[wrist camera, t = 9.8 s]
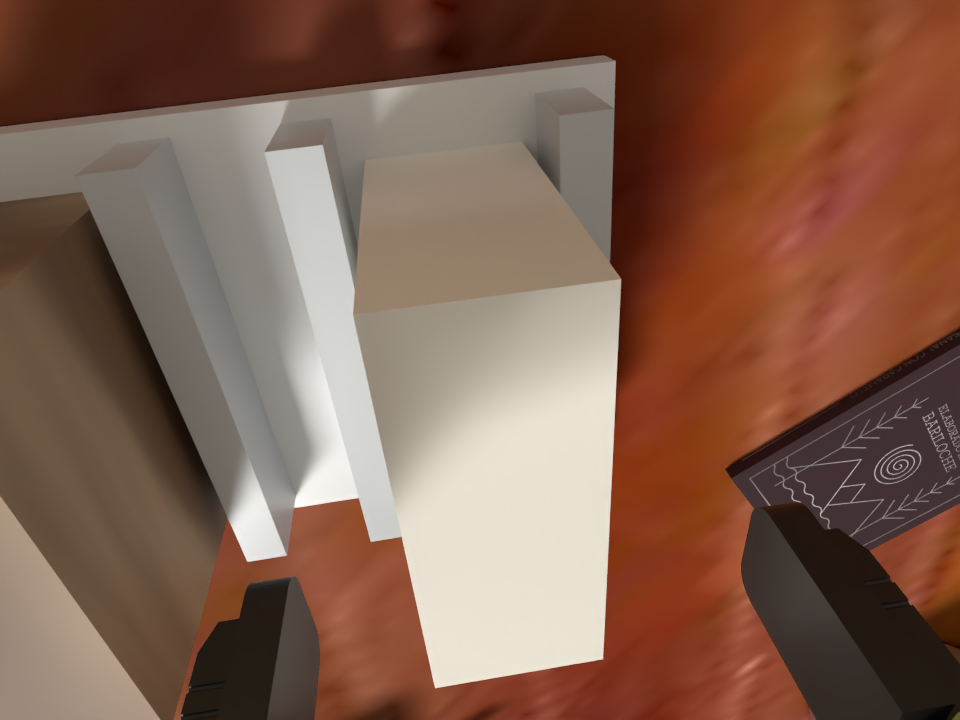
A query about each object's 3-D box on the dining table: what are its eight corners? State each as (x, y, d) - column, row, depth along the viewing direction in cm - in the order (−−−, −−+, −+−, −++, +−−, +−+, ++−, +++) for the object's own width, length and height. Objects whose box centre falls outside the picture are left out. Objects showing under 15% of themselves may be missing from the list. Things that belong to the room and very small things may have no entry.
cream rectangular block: (522, 141, 16) (621, 278, 9) (534, 440, 22) (602, 659, 15) (364, 160, 16) (353, 315, 9) (418, 457, 21) (434, 688, 15)
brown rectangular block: (112, 187, 15) (-90, 370, 9) (236, 483, 21) (169, 732, 14) (-58, 209, 15) (-399, 414, 9) (113, 502, 21) (-14, 765, 14)
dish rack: (603, 55, 16) (652, 78, 13) (596, 440, 23) (627, 511, 20) (-179, 147, 15) (-313, 196, 12) (67, 523, 22) (20, 610, 19)
